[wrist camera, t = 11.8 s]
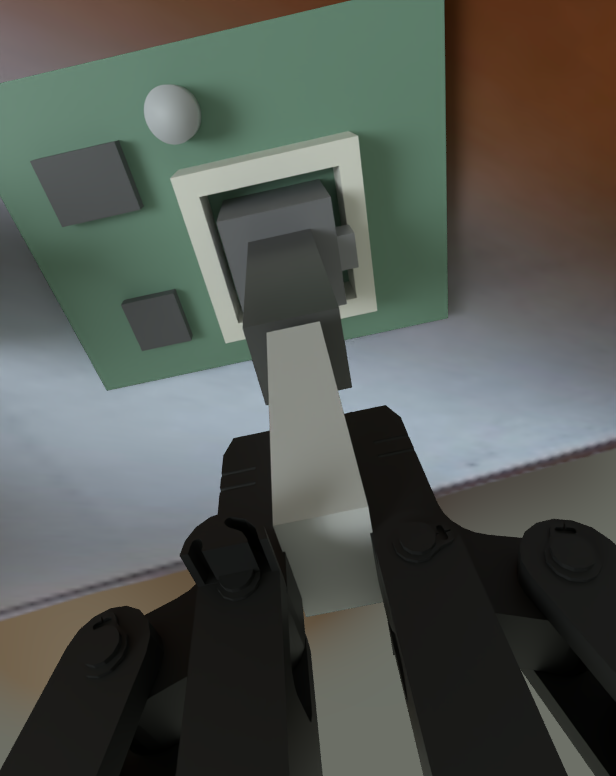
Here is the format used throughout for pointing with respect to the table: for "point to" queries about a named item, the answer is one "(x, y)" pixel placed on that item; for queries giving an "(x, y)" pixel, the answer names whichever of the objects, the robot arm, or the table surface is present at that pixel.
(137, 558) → the table surface
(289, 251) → the plug
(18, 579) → the table surface
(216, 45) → the board
